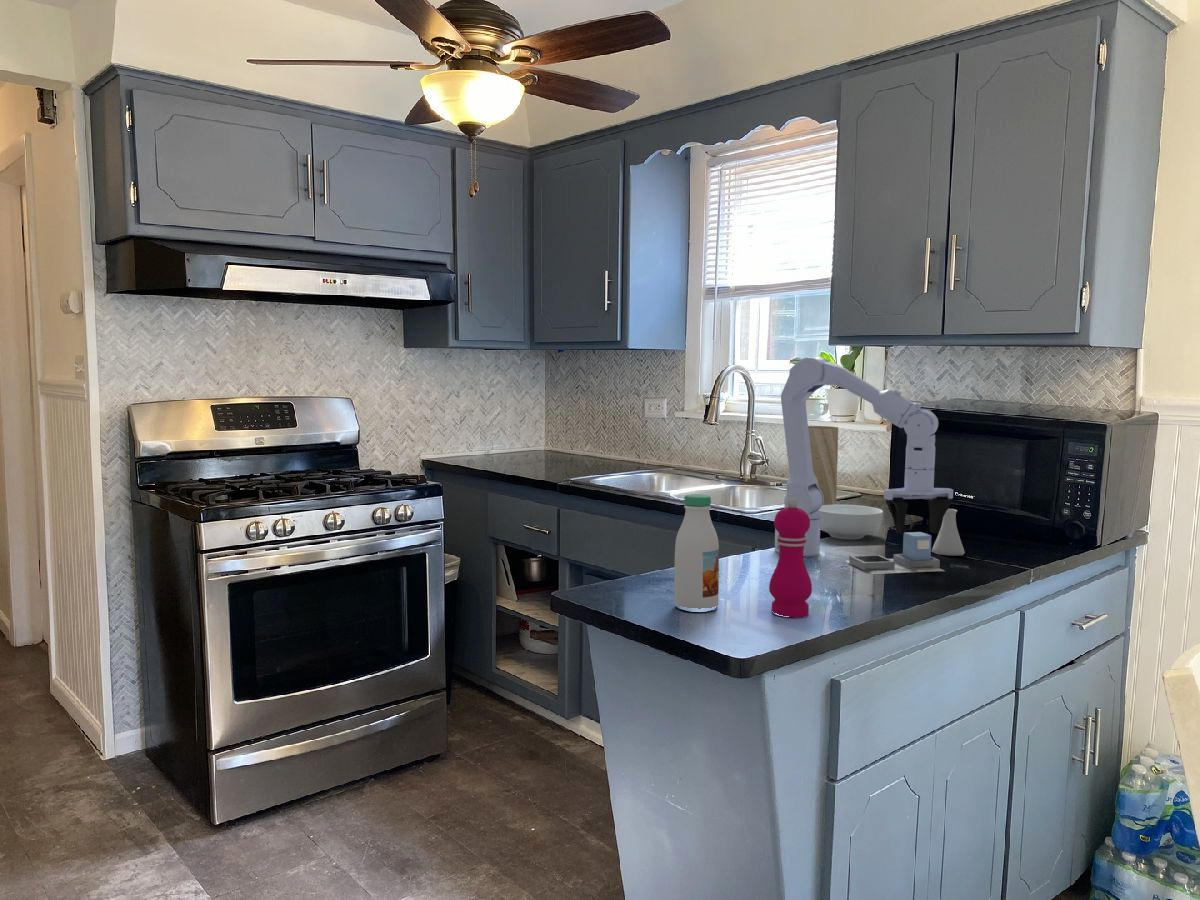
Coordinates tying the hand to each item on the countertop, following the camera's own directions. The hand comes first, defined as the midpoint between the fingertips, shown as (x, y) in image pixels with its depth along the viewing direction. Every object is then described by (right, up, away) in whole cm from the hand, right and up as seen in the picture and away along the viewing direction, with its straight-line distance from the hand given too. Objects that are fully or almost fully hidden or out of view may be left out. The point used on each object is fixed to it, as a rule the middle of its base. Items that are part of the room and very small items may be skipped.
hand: (916, 533), depth 185 cm
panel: (-5, -8, 0) cm, 9 cm away
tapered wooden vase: (-5, -1, +65) cm, 65 cm away
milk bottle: (-49, -11, -29) cm, 58 cm away
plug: (0, -7, +1) cm, 7 cm away
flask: (+13, -6, +17) cm, 22 cm away
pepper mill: (-33, -11, -32) cm, 47 cm away
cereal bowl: (-5, -4, +36) cm, 36 cm away
